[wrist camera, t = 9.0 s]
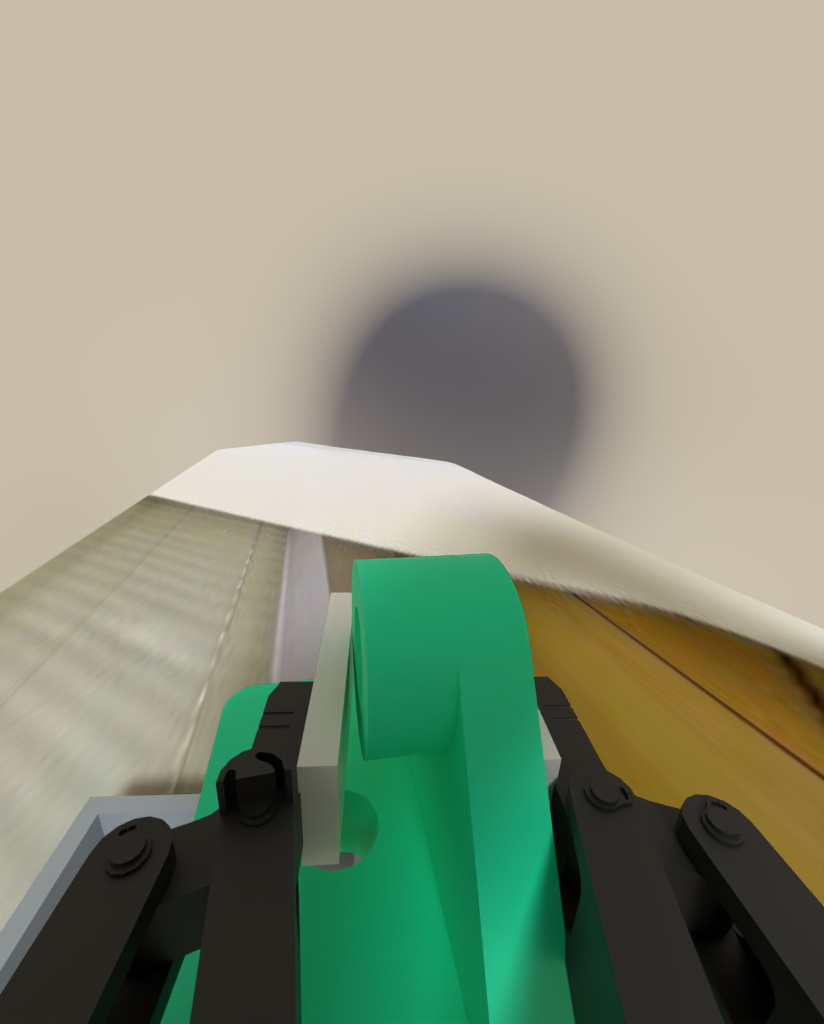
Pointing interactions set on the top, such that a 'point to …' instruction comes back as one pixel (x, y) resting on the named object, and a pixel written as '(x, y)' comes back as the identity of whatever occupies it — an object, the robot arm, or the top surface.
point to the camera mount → (427, 814)
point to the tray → (90, 826)
